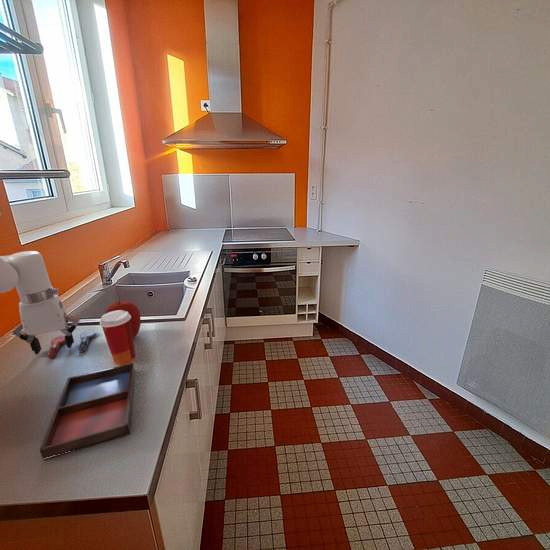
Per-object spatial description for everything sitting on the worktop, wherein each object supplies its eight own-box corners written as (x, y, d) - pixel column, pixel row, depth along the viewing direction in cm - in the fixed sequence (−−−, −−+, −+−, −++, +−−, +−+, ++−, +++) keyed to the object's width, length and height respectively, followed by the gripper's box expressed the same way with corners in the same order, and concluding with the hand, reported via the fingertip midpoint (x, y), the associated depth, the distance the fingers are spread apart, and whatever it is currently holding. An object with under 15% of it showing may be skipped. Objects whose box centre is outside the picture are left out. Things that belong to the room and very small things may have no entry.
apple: (151, 333, 99) (143, 295, 94) (125, 350, 90) (115, 308, 86) (129, 327, 103) (120, 290, 98) (102, 342, 95) (92, 302, 90)
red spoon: (60, 357, 88) (58, 351, 87) (42, 361, 86) (40, 355, 86) (69, 337, 98) (68, 332, 97) (53, 340, 97) (52, 334, 96)
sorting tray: (43, 460, 57) (39, 450, 56) (70, 386, 76) (67, 377, 75) (130, 434, 62) (127, 424, 61) (135, 371, 81) (133, 362, 80)
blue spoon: (91, 351, 90) (89, 345, 90) (74, 354, 89) (72, 348, 88) (97, 332, 101) (95, 326, 100) (82, 334, 99) (80, 329, 99)
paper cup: (127, 348, 91) (117, 307, 86) (145, 354, 88) (136, 312, 83) (103, 363, 85) (91, 319, 80) (122, 370, 81) (110, 325, 76)
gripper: (75, 285, 91) (89, 336, 97) (4, 295, 85) (24, 348, 91) (69, 295, 84) (85, 348, 90) (-8, 306, 78) (14, 362, 85)
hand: (54, 348), depth 91 cm, fingers open, 7 cm apart
